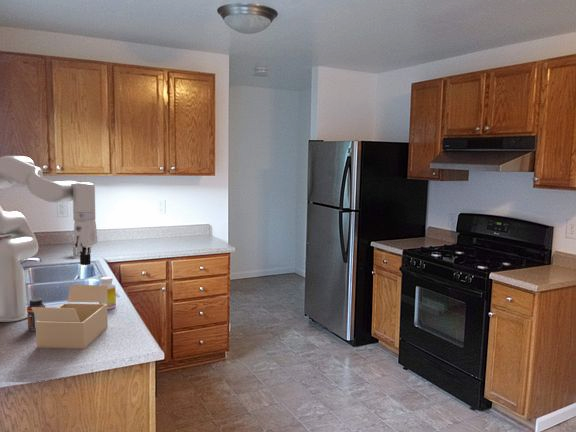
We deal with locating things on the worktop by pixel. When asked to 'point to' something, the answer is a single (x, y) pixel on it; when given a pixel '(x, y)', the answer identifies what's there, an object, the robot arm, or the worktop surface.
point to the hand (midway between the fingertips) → (85, 264)
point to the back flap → (87, 293)
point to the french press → (75, 251)
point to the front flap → (56, 314)
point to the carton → (73, 328)
